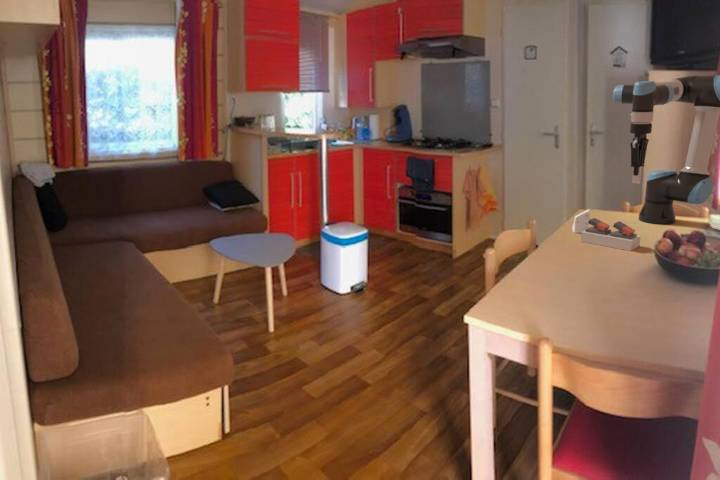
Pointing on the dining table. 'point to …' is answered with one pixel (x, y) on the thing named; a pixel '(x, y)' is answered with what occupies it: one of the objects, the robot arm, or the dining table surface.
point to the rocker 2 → (623, 228)
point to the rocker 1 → (598, 224)
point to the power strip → (610, 238)
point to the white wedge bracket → (581, 222)
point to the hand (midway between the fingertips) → (636, 183)
